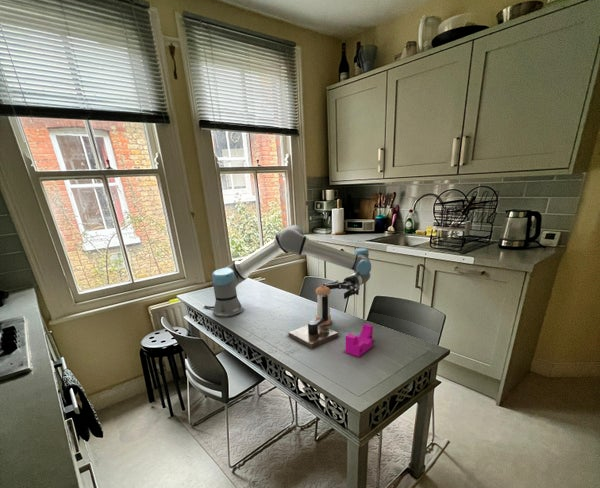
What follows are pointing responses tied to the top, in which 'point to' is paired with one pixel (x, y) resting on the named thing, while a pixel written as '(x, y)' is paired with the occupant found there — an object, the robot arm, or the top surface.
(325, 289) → the pepper shaker
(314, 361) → the top surface
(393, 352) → the top surface
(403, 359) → the top surface
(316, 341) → the pivot base
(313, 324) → the black stand
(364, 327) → the toy block
